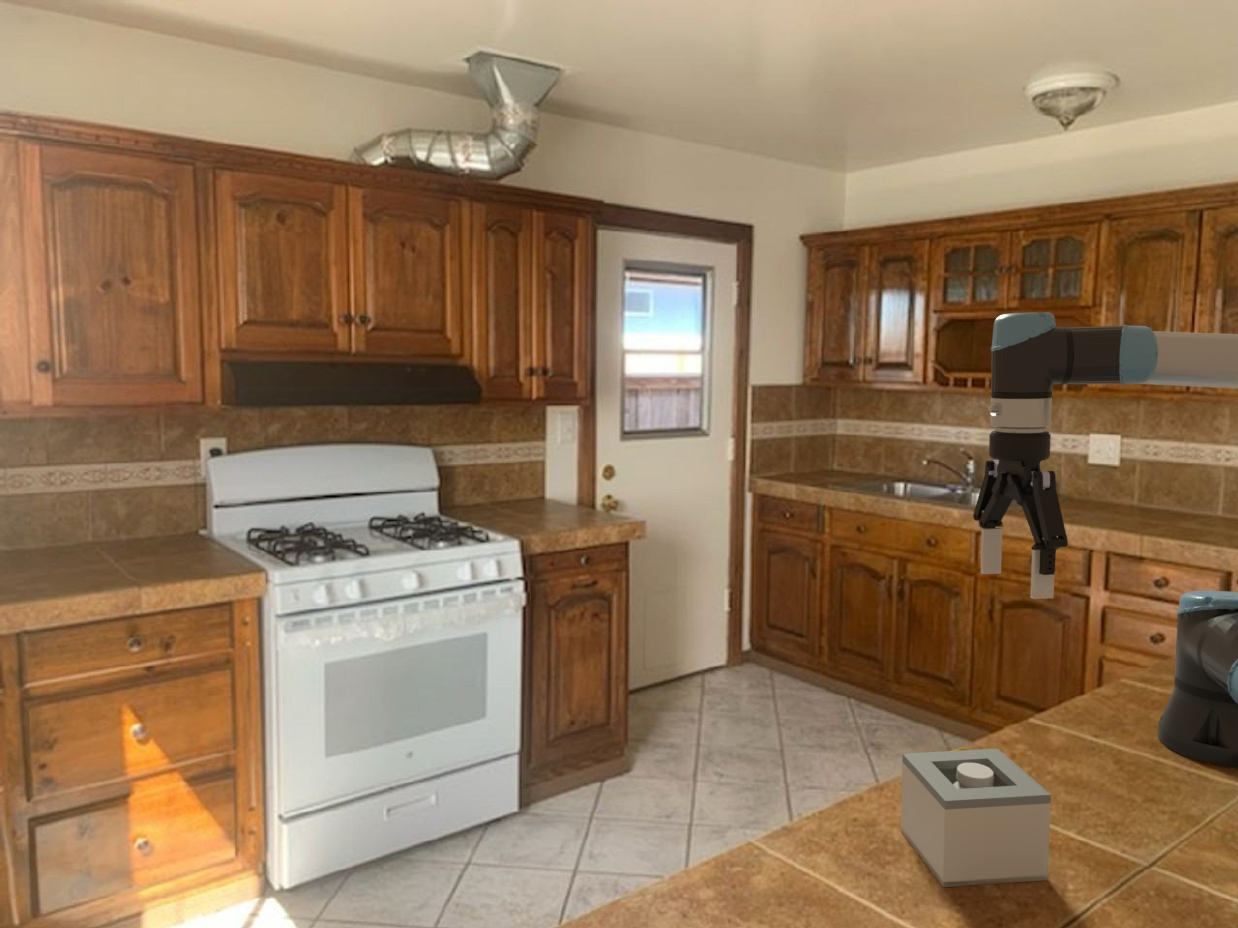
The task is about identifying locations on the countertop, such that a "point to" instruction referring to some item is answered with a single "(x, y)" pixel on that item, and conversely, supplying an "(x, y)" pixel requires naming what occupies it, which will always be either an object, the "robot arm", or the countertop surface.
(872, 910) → the countertop surface
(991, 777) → the pill bottle
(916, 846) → the drop box
